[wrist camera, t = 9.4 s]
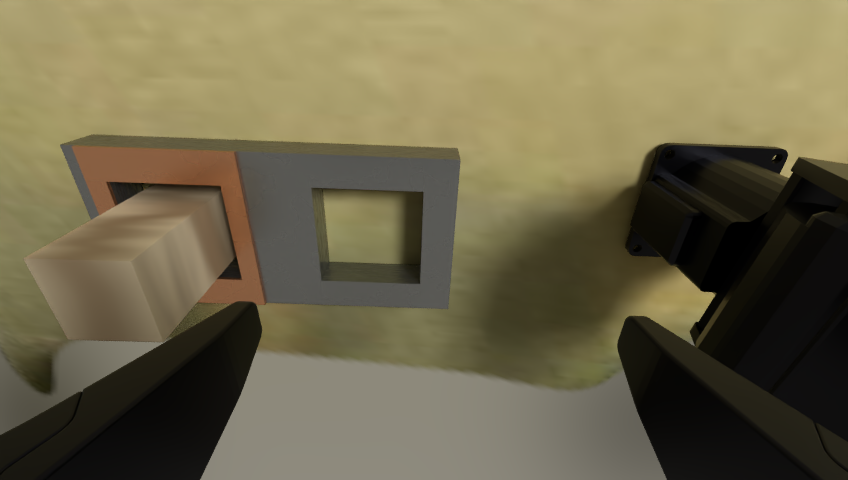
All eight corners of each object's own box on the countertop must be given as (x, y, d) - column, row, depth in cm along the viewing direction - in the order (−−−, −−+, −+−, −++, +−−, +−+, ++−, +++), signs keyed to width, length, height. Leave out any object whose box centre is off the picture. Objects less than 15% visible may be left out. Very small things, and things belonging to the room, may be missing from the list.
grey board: (457, 148, 20) (460, 160, 18) (446, 288, 24) (448, 311, 23) (92, 134, 20) (56, 145, 18) (146, 278, 24) (121, 299, 22)
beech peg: (229, 184, 21) (131, 261, 14) (243, 247, 23) (163, 342, 16) (156, 182, 21) (22, 258, 14) (176, 245, 23) (67, 339, 16)
